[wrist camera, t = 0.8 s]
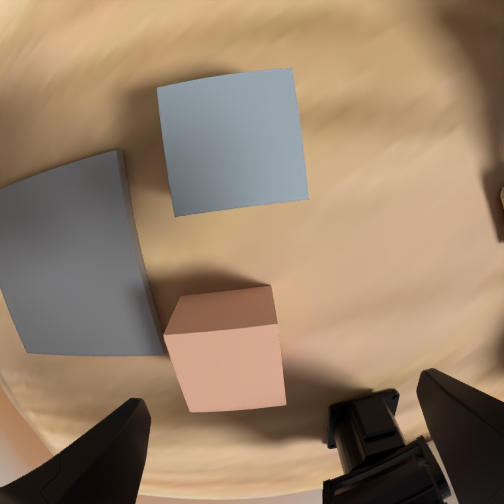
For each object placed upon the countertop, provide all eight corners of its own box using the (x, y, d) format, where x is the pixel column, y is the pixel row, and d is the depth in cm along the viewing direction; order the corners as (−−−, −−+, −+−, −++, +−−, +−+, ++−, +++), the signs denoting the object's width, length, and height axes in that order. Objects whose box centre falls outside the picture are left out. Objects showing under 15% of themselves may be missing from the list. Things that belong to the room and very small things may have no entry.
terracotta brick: (279, 357, 22) (286, 404, 17) (199, 365, 22) (190, 412, 17) (271, 284, 20) (277, 323, 15) (181, 295, 20) (163, 335, 15)
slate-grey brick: (292, 188, 18) (308, 199, 13) (193, 201, 18) (174, 217, 13) (280, 90, 16) (292, 68, 12) (180, 104, 16) (156, 87, 12)
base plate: (167, 347, 21) (164, 355, 20) (32, 347, 22) (27, 352, 21) (122, 149, 17) (116, 149, 16) (-15, 196, 17) (-22, 198, 16)
